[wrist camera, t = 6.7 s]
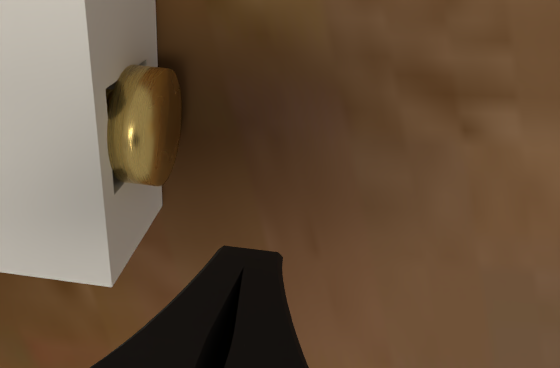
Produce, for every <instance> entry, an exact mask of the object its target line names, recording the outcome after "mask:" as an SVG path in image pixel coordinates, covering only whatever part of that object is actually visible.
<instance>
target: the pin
mask: <svg viewBox="0 0 560 368" xmlns="http://www.w3.org/2000/svg"><path fill="white" fill-rule="evenodd" d="M105 90H106V102H107V114H108V124H107V147H108V155H109V161H110V165H111V168H112V170H113V173H114V175H115V176H116V178H117V179H118V180H120V181H121V182H126V183H134V184H142V185H150V186H161V185H163V184H164V183H165V182H166V180H167V179H168V177H169V175H170V173H171V171H172V168H173V165H174V162H175V159H176V155H177V150H178V145H179V139H180V131H181V117H182V105H181V92H180V86H179V82H178V79H177V76H176V74H175V72H174V71H173V70H172V69H169V68H161V67H151V66H142V65H130V66H128V67H126V68H125V69H124V71H123V72H122V73H121V75H120V77H119V78H118V81H117V83H116V85H115V88H114V90H113V89H105Z"/></svg>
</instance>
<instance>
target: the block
mask: <svg viewBox="0 0 560 368" xmlns="http://www.w3.org/2000/svg"><path fill="white" fill-rule="evenodd" d="M130 65H142V66H151V67H158V59H157V29H156V0H0V272H3V273H10V274H18V275H25V276H32V277H40V278H47V279H54V280H62V281H69V282H77V283H84V284H91V285H99V286H106V287H112V286H113V285H114V283H115V282H116V280H117V278H118V277H119V275H120V274H121V272H122V270H123V269H124V267H125V265H126V264H127V262H128V261H129V259H130V257H131V256H132V254H133V253H134V251H135V249H136V248H137V246H138V244H139V243H140V241H141V240H142V238H143V236H144V235H145V233H146V232H147V230H148V228H149V227H150V225H151V223H152V222H153V220H154V219H155V217H156V215H157V214H158V212H159V211H160V209H161V207H162V185H161V186H150V185H142V184H134V183H126V182H121V181H120V180H118V179H117V178H116V176H115V175H114V173H113V170H112V168H111V165H110V161H109V155H108V147H107V124H108V114H107V102H106V90H105V89H113V90H114V88H115V85H116V83H117V81H118V78H119V77H120V75H121V73H122V72H123V71H124V69H125V68H126V67H128V66H130Z"/></svg>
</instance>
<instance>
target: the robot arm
mask: <svg viewBox="0 0 560 368" xmlns="http://www.w3.org/2000/svg"><path fill="white" fill-rule="evenodd" d="M282 261H283V257H282V256H281V255H280V254H279V253H278V252H271V251H263V250H255V249H247V248H239V247H231V246H223V247H221V248H220V249H219V250H218V251H217V252H216V253H215V255H214V256H213V257H212V258H211V259H210V261H209V262H208V263H207V264H206V265H205V266H204V268H203V269H202V270H201V271H200V272H199V273H198V274H197V275H196V276H195V278H194V279H193V280H192V281H191V282H190V283H189V284H188V285H187V286H186V287H185V288H184V289H183V290H182V291H181V292H180V293H179V294H178V295H177V296H176V297H175V298H174V299H173V300H172V301H171V302H170V303H169V304H168V305H167V306H166V307H165V308H164V309H163V310H162V311H160V312H159V313H158V314H157V315H156V316H155V317H154V318H153V319H152V320H150V321H149V322H148V323H147V324H146V325H145V326H144V327H143V328H142V329H140V330H139V331H138V332H137V333H135V334H134V335H133V336H132V337H131V338H129V339H128V340H127V341H126V342H124V343H123V344H122V345H121V346H119V347H118V348H117V349H115V350H114V351H113V352H111V353H110V354H109V355H107V356H106V357H105V358H103V359H102V360H100V361H99V362H97V363H96V364H94V365H93V366H91V367H90V368H309V367H308V365H307V363H306V360H305V357H304V355H303V352H302V349H301V347H300V344H299V341H298V338H297V335H296V332H295V329H294V326H293V322H292V319H291V315H290V311H289V307H288V304H287V299H286V295H285V289H284V283H283V276H282Z"/></svg>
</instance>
